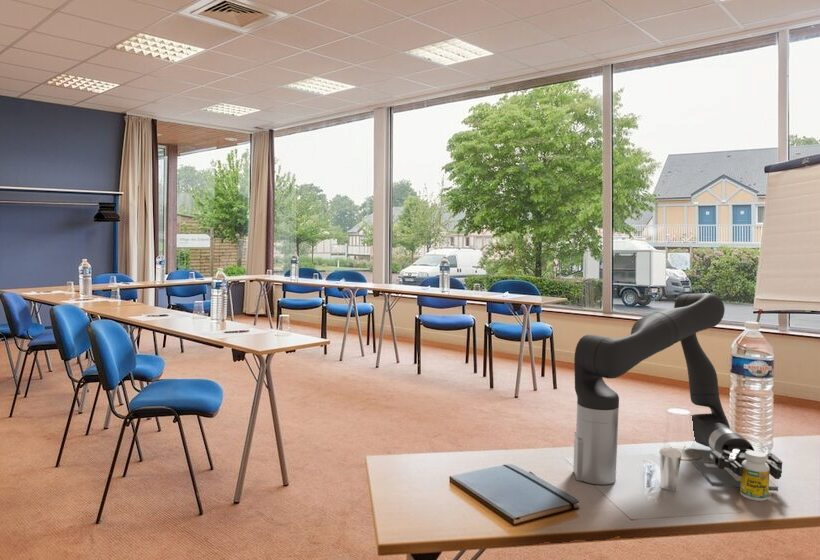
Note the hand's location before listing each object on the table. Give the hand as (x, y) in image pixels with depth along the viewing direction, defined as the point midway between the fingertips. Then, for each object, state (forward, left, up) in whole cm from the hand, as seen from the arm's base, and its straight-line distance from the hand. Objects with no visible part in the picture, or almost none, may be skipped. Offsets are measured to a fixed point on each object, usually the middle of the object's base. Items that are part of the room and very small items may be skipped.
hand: (759, 473), depth 128 cm
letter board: (0, +14, -6) cm, 15 cm away
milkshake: (-17, +3, -6) cm, 18 cm away
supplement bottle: (0, +2, -6) cm, 7 cm away
